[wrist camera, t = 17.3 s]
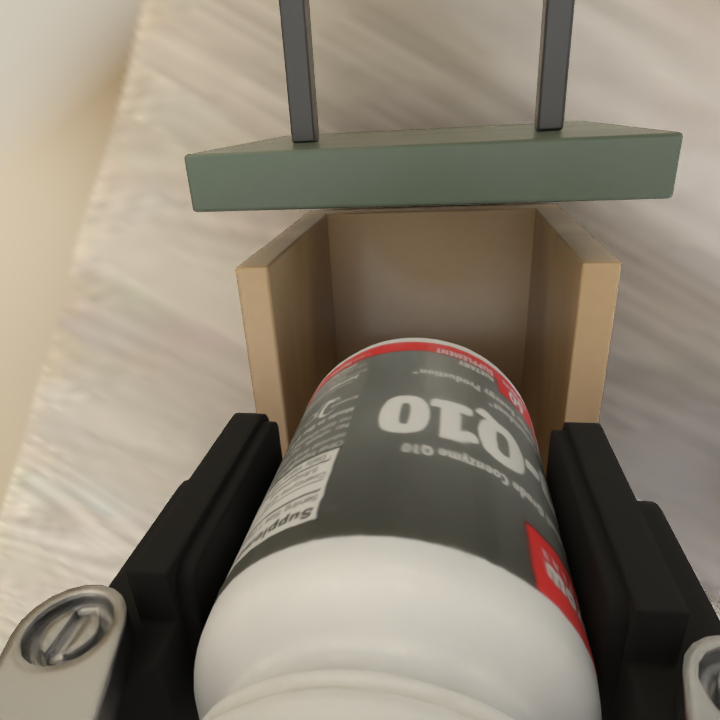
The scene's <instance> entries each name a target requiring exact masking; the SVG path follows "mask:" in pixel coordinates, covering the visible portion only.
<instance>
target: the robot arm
mask: <svg viewBox="0 0 720 720" xmlns="http://www.w3.org/2000/svg"><path fill="white" fill-rule="evenodd" d="M282 460H283V458H282V450H281V443H280V435H279V428H278V424H277V423H276V422H273V421H269V418H268V416H267V415H266V414H259V413H235V414H234V415H233V417H232V418H231V420H230V421H229V422H228V424H227V425H226V427H225V428H224V430H223V431H222V433H221V434H220V436H219V437H218V438H217V440H216V441H215V443H214V444H213V446H212V447H211V449H210V450H209V451H208V453H207V454H206V456H205V457H204V459H203V460H202V462H201V463H200V465H199V466H198V467H197V469H196V470H195V472H194V473H193V475H192V476H191V478H190V479H189V480H187V481H184V482H183V483H182V484H181V485H180V486H179V487H178V489H177V490H176V492H175V493H174V495H173V496H172V497H171V499H170V500H169V502H168V503H167V504H166V506H165V507H164V509H163V510H162V512H161V513H160V514H159V516H158V517H157V519H156V520H155V522H154V523H153V524H152V526H151V527H150V529H149V530H148V531H147V533H146V534H145V536H144V537H143V539H142V540H141V541H140V543H139V544H138V546H137V547H136V549H135V550H134V551H133V553H132V554H131V556H130V557H129V558H128V560H127V561H126V563H125V564H124V566H123V567H122V568H121V570H120V571H119V573H118V574H117V576H116V577H115V578H114V580H113V581H112V583H111V584H110V585H109V587H107V586H103V585H85V586H81V587H77V588H72V589H69V590H66V591H64V592H62V593H59V594H57V595H55V596H53V597H51V598H49V599H48V600H46V601H45V602H43V603H42V604H40V605H38V606H37V607H35V608H34V609H33V610H32V611H31V612H30V613H29V614H28V615H27V616H26V617H25V618H24V619H22V620H21V622H20V623H19V625H18V626H17V627H16V629H15V630H14V632H13V633H12V635H11V636H10V638H9V640H8V642H7V644H6V646H5V648H4V650H3V652H2V653H1V655H0V720H200V719H199V715H198V711H197V706H196V702H195V695H194V666H195V658H196V653H197V648H198V645H199V641H200V637H201V634H202V632H203V629H204V627H205V624H206V622H207V619H208V617H209V614H210V612H211V610H212V607H213V605H214V602H215V600H216V598H217V595H218V592H219V590H220V588H221V587H222V585H223V583H224V582H225V580H226V577H227V575H228V573H229V571H230V569H231V567H232V565H233V563H234V561H235V559H236V556H237V554H238V552H239V550H240V548H241V546H242V544H243V542H244V540H245V538H246V535H247V533H248V531H249V529H250V527H251V525H252V522H253V520H254V518H255V516H256V514H257V512H258V510H259V508H260V506H261V504H262V502H263V500H264V498H265V496H266V493H267V491H268V489H269V487H270V485H271V483H272V481H273V479H274V477H275V475H276V473H277V471H278V468H279V466H280V464H281V462H282ZM546 481H547V485H548V489H549V492H550V496H551V500H552V503H553V507H554V510H555V515H556V518H557V522H558V525H559V531H560V535H561V539H562V543H563V546H564V550H565V553H566V557H567V562H568V566H569V569H570V573H571V577H572V580H573V584H574V588H575V591H576V595H577V598H578V602H579V606H580V611H581V615H582V619H583V622H584V625H585V630H586V635H587V638H588V642H589V645H590V649H591V652H592V656H593V660H594V663H595V668H596V671H597V681H598V688H599V695H600V703H601V716H602V720H720V620H719V619H718V617H717V615H716V613H715V611H714V609H713V607H712V605H711V603H710V601H709V600H708V598H707V596H706V594H705V592H704V590H703V588H702V586H701V584H700V582H699V581H698V579H697V577H696V575H695V573H694V571H693V569H692V567H691V565H690V563H689V562H688V560H687V558H686V556H685V554H684V552H683V550H682V548H681V546H680V544H679V543H678V541H677V539H676V537H675V535H674V533H673V531H672V529H671V527H670V525H669V524H668V522H667V520H666V518H665V516H664V514H663V512H662V510H661V509H660V508H659V506H658V505H657V504H656V503H654V502H650V501H637V500H636V498H635V496H634V494H633V492H632V490H631V488H630V486H629V484H628V482H627V479H626V477H625V475H624V473H623V471H622V469H621V467H620V465H619V463H618V461H617V458H616V456H615V454H614V452H613V450H612V448H611V446H610V444H609V442H608V440H607V437H606V435H605V433H604V431H603V429H602V427H601V425H600V424H599V423H581V422H565V423H564V424H563V427H562V430H552V431H551V435H550V443H549V453H548V462H547V472H546Z"/></svg>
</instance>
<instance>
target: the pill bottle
mask: <svg viewBox="0 0 720 720" xmlns="http://www.w3.org/2000/svg"><path fill="white" fill-rule="evenodd" d="M194 695H195V702H196V706H197V711H198V715H199V719H200V720H602V716H601V703H600V695H599V688H598V681H597V671H596V668H595V663H594V660H593V656H592V652H591V649H590V645H589V642H588V638H587V635H586V630H585V625H584V622H583V619H582V615H581V611H580V606H579V602H578V598H577V595H576V591H575V588H574V584H573V580H572V577H571V573H570V569H569V566H568V562H567V557H566V553H565V550H564V546H563V543H562V539H561V535H560V531H559V525H558V522H557V518H556V515H555V510H554V507H553V503H552V500H551V496H550V492H549V489H548V485H547V481H546V477H545V473H544V469H543V464H542V461H541V457H540V453H539V449H538V444H537V440H536V437H535V433H534V429H533V425H532V422H531V418H530V416H529V413H528V411H527V408H526V406H525V403H524V402H523V400H522V398H521V396H520V394H519V393H518V391H517V390H516V388H515V387H514V386H513V384H512V383H511V382H510V381H509V379H508V378H507V377H506V376H505V375H504V374H503V373H502V372H501V371H500V370H499V369H498V368H497V367H496V366H494V365H493V364H492V363H491V362H489V361H488V360H487V359H485V358H484V357H482V356H481V355H479V354H477V353H475V352H473V351H472V350H470V349H467V348H465V347H462V346H460V345H457V344H453V343H450V342H445V341H441V340H437V339H429V338H400V339H393V340H388V341H384V342H380V343H377V344H374V345H371V346H369V347H367V348H365V349H362V350H360V351H359V352H357V353H355V354H353V355H352V356H350V357H348V358H347V359H345V360H344V361H343V362H341V363H340V364H339V365H337V366H336V367H335V368H334V369H333V370H332V371H331V372H330V373H329V374H328V375H327V376H326V377H325V378H324V380H323V381H322V382H321V383H320V385H319V386H318V388H317V390H316V391H315V393H314V395H313V396H312V398H311V399H310V401H309V403H308V405H307V407H306V410H305V413H304V415H303V417H302V419H301V421H300V423H299V426H298V428H297V430H296V432H295V434H294V436H293V438H292V440H291V442H290V444H289V446H288V449H287V451H286V453H285V456H284V458H283V460H282V462H281V464H280V466H279V468H278V471H277V473H276V475H275V477H274V479H273V481H272V483H271V485H270V487H269V489H268V491H267V493H266V496H265V498H264V500H263V502H262V504H261V506H260V508H259V510H258V512H257V514H256V516H255V518H254V520H253V522H252V525H251V527H250V529H249V531H248V533H247V535H246V538H245V540H244V542H243V544H242V546H241V548H240V550H239V552H238V554H237V556H236V559H235V561H234V563H233V565H232V567H231V569H230V571H229V573H228V575H227V577H226V580H225V582H224V583H223V585H222V587H221V588H220V590H219V592H218V595H217V598H216V600H215V602H214V605H213V607H212V610H211V612H210V614H209V617H208V619H207V622H206V624H205V627H204V629H203V632H202V634H201V637H200V641H199V645H198V648H197V653H196V658H195V666H194Z"/></svg>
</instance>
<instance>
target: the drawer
mask: <svg viewBox="0 0 720 720" xmlns="http://www.w3.org/2000/svg"><path fill="white" fill-rule="evenodd" d="M574 3H575V0H543V12H542V26H541V40H540V54H539V68H538V82H537V96H536V110H535V124H517V125H497V126H477V127H457V128H436V129H416V130H396V131H376V132H356V133H335V134H319V129H318V115H317V102H316V89H315V75H314V62H313V48H312V35H311V22H310V8H309V0H279V6H280V16H281V27H282V38H283V48H284V59H285V70H286V80H287V91H288V102H289V112H290V123H291V134H292V136H284V137H278V138H273V139H268V140H263V141H257V142H252V143H247V144H241V145H236V146H231V147H225V148H220V149H215V150H209V151H204V152H199V153H193V154H188V155H186V156H185V164H186V170H187V176H188V182H189V188H190V193H191V199H192V205H193V210H194V211H196V212H215V211H249V210H284V209H318V208H353V207H387V206H422V205H457V204H491V203H526V202H560V201H595V200H629V199H664V198H670V197H671V196H672V194H673V189H674V183H675V177H676V172H677V166H678V160H679V154H680V149H681V143H682V137H683V136H682V133H680V132H673V131H664V130H655V129H647V128H638V127H629V126H621V125H612V124H603V123H595V122H586V121H578V122H564V112H565V101H566V90H567V79H568V68H569V57H570V46H571V35H572V25H573V14H574ZM621 265H622V264H621V262H620V261H619V260H618V259H617V258H615V257H614V256H613V255H612V254H611V253H610V252H609V251H608V250H607V249H606V248H604V247H603V246H602V245H601V244H600V243H599V242H598V241H597V240H596V239H595V238H593V237H592V236H591V235H590V234H589V233H588V232H587V231H586V230H585V229H583V228H582V227H581V226H580V225H579V224H578V223H577V222H576V221H575V220H574V219H572V218H571V217H570V216H569V215H568V214H567V213H566V212H565V211H564V210H563V209H561V208H560V207H559V206H558V205H557V204H532V205H497V206H461V207H426V208H391V209H355V210H320V211H310V212H308V213H307V214H306V215H305V216H303V217H302V218H301V219H299V220H298V221H297V222H295V223H294V224H293V225H291V226H290V227H289V228H288V229H286V230H285V231H284V232H282V233H281V234H280V235H278V236H277V237H276V238H274V239H273V240H272V241H271V242H269V243H268V244H267V245H265V246H264V247H263V248H261V249H260V250H259V251H257V252H256V253H255V254H254V255H252V256H251V257H250V258H248V259H247V260H246V261H244V262H243V263H242V264H240V265H239V266H238V267H237V268H236V275H237V282H238V289H239V296H240V303H241V310H242V316H243V323H244V330H245V337H246V344H247V351H248V358H249V365H250V372H251V378H252V385H253V392H254V399H255V406H256V413H259V414H266V415H267V416H268V418H269V421H273V422H276V423H277V424H278V428H279V435H280V443H281V450H282V458H284V456H285V453H286V451H287V449H288V446H289V444H290V442H291V440H292V438H293V436H294V434H295V432H296V430H297V428H298V426H299V423H300V421H301V419H302V417H303V415H304V413H305V410H306V407H307V405H308V403H309V401H310V399H311V398H312V396H313V395H314V393H315V391H316V390H317V388H318V386H319V385H320V383H321V382H322V381H323V380H324V378H325V377H326V376H327V375H328V374H329V373H330V372H331V371H332V370H333V369H334V368H335V367H336V366H337V365H339V364H340V363H341V362H343V361H344V360H345V359H347V358H348V357H350V356H352V355H353V354H355V353H357V352H359V351H360V350H362V349H365V348H367V347H369V346H371V345H374V344H377V343H380V342H384V341H388V340H393V339H400V338H429V339H437V340H441V341H445V342H450V343H453V344H457V345H460V346H462V347H465V348H467V349H470V350H472V351H473V352H475V353H477V354H479V355H481V356H482V357H484V358H485V359H487V360H488V361H489V362H491V363H492V364H493V365H494V366H496V367H497V368H498V369H499V370H500V371H501V372H502V373H503V374H504V375H505V376H506V377H507V378H508V379H509V381H510V382H511V383H512V384H513V386H514V387H515V388H516V390H517V391H518V393H519V394H520V396H521V398H522V400H523V402H524V403H525V406H526V408H527V411H528V413H529V416H530V418H531V422H532V425H533V429H534V433H535V437H536V440H537V444H538V449H539V453H540V457H541V461H542V464H543V469H544V473H545V477H546V472H547V462H548V453H549V443H550V435H551V431H552V430H562V427H563V424H564V423H565V422H581V423H599V418H600V411H601V404H602V397H603V390H604V383H605V376H606V369H607V362H608V355H609V349H610V342H611V335H612V328H613V321H614V314H615V307H616V300H617V293H618V286H619V279H620V272H621Z"/></svg>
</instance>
